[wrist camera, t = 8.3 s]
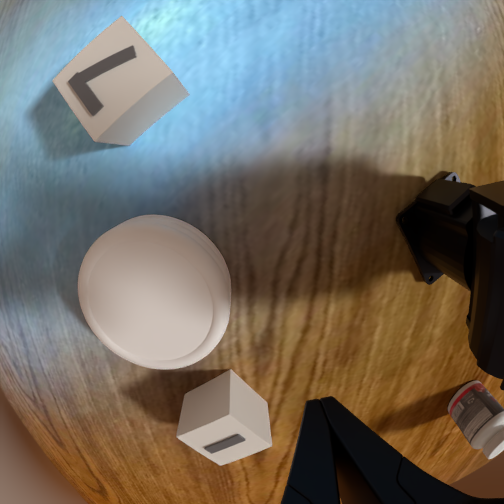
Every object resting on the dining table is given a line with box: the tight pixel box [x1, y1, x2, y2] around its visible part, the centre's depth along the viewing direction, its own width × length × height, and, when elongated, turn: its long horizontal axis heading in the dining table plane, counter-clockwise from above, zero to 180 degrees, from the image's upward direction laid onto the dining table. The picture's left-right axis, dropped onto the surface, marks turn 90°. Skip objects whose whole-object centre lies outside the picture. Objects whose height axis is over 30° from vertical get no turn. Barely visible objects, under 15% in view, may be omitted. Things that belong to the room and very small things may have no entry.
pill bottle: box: [448, 381, 504, 459], centre depth 21 cm, size 5×5×10 cm
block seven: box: [53, 16, 190, 146], centre depth 13 cm, size 5×5×5 cm
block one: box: [176, 369, 272, 466], centre depth 20 cm, size 5×5×5 cm
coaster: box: [78, 214, 231, 370], centre depth 18 cm, size 10×10×4 cm
